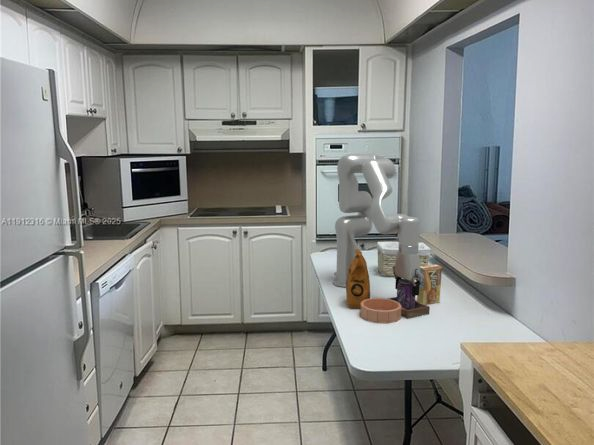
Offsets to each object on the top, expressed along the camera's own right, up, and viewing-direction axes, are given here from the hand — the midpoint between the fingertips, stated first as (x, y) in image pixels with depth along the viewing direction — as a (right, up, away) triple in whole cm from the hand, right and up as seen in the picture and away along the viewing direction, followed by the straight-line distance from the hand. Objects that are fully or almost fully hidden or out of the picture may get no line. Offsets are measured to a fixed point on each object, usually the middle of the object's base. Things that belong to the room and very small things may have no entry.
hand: (407, 291), depth 194 cm
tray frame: (0, -7, +2) cm, 8 cm away
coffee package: (-18, -6, +8) cm, 21 cm away
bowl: (-11, -8, -4) cm, 15 cm away
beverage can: (0, -8, +2) cm, 8 cm away
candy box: (+11, -6, +11) cm, 17 cm away
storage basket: (+9, +1, +54) cm, 54 cm away
